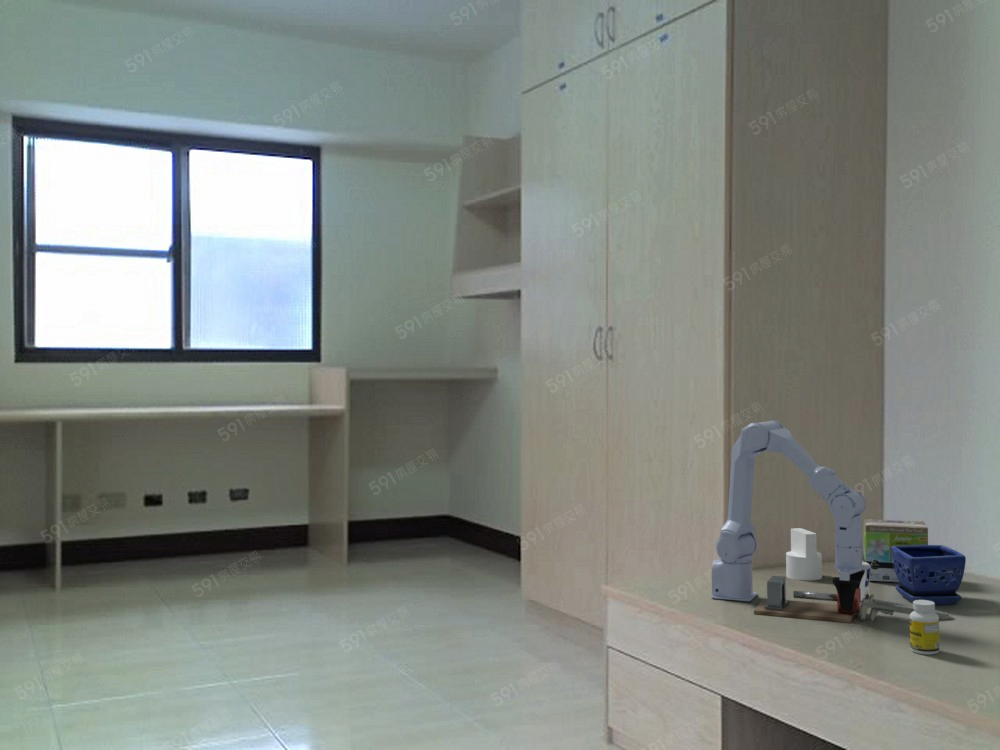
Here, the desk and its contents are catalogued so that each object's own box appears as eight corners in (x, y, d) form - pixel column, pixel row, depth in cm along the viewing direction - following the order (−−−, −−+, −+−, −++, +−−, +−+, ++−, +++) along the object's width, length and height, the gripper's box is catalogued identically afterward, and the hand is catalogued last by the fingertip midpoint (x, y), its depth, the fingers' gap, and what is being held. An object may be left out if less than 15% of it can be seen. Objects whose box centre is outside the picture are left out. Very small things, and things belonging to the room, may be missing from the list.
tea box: (865, 582, 261) (864, 524, 261) (863, 573, 271) (862, 518, 270) (928, 585, 257) (928, 526, 256) (924, 576, 266) (923, 519, 266)
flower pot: (969, 606, 235) (968, 555, 235) (911, 608, 235) (910, 556, 235) (943, 592, 249) (943, 544, 248) (889, 594, 248) (888, 545, 248)
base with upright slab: (780, 574, 273) (779, 529, 272) (811, 571, 274) (811, 527, 274) (796, 581, 264) (795, 535, 263) (828, 579, 265) (827, 533, 265)
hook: (792, 608, 233) (791, 584, 233) (796, 603, 237) (795, 579, 237) (859, 614, 226) (858, 589, 226) (862, 609, 231) (861, 584, 231)
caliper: (862, 622, 225) (862, 594, 225) (860, 621, 226) (860, 593, 226) (954, 620, 225) (954, 591, 225) (952, 619, 226) (952, 590, 226)
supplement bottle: (904, 647, 205) (904, 599, 205) (930, 646, 205) (930, 598, 205) (918, 656, 199) (917, 606, 199) (944, 654, 200) (944, 604, 200)
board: (753, 613, 233) (753, 610, 233) (764, 601, 244) (764, 598, 244) (850, 622, 224) (850, 619, 224) (857, 609, 235) (857, 606, 235)
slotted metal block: (764, 609, 234) (764, 582, 234) (771, 600, 241) (771, 574, 241) (782, 610, 232) (781, 583, 232) (789, 602, 239) (788, 576, 239)
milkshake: (876, 602, 241) (875, 560, 241) (852, 601, 242) (851, 559, 242) (873, 597, 245) (872, 556, 245) (849, 597, 246) (849, 555, 246)
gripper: (863, 553, 221) (864, 615, 221) (871, 540, 234) (871, 600, 234) (829, 550, 224) (830, 612, 224) (838, 539, 237) (839, 597, 237)
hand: (849, 606), depth 230 cm, fingers open, 7 cm apart
